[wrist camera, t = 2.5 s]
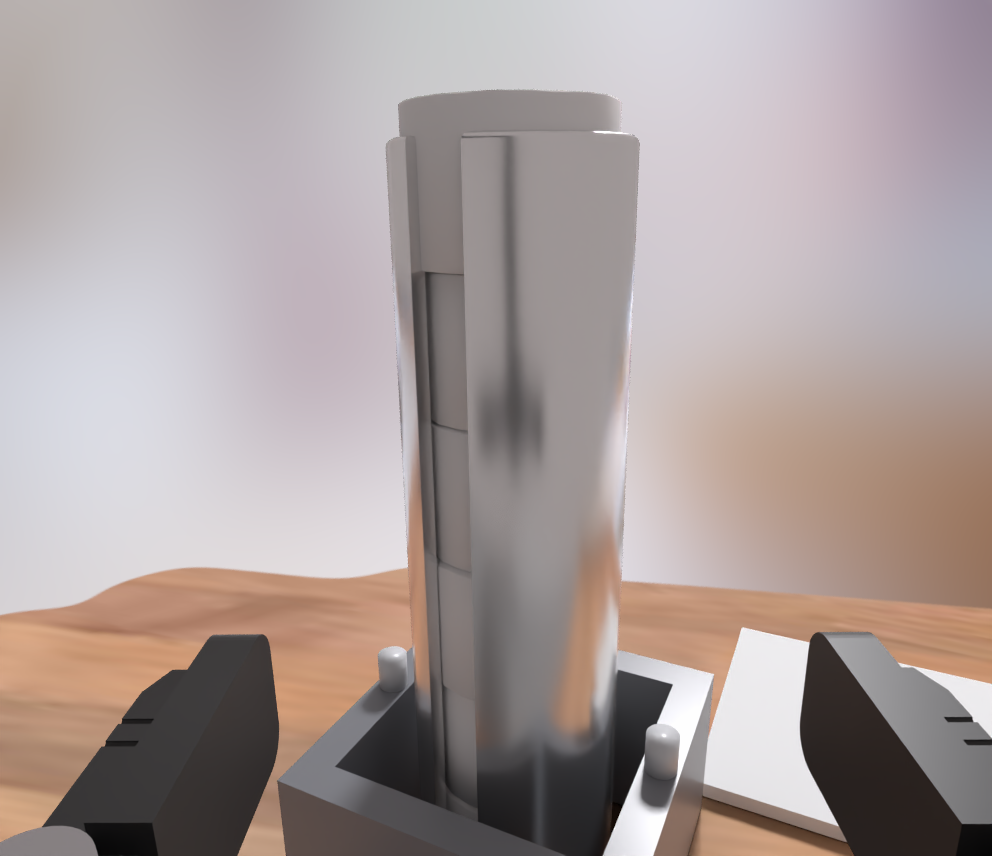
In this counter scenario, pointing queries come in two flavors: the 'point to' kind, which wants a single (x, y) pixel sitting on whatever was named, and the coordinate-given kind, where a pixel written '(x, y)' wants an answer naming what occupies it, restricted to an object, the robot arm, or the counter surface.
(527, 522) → the silver metal canister
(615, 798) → the housing collar
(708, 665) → the counter surface
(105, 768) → the robot arm
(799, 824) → the rubber mat
